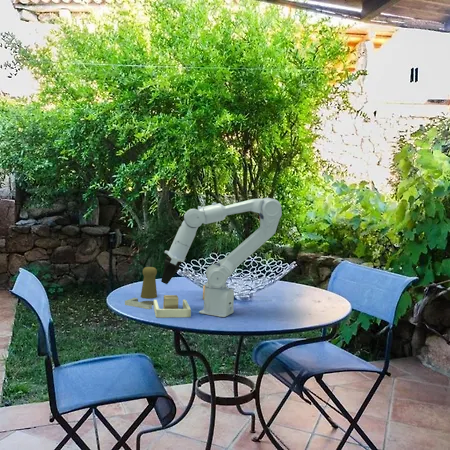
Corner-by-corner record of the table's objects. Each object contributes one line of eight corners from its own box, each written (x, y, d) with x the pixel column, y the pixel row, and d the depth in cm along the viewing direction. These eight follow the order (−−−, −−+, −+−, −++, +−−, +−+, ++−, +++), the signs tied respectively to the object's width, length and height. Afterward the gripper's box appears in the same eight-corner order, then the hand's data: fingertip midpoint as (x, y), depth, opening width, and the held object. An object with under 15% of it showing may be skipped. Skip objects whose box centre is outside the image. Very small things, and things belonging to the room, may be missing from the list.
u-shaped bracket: (190, 317, 159) (190, 309, 159) (156, 317, 157) (156, 309, 157) (185, 306, 172) (185, 299, 172) (153, 307, 170) (153, 299, 170)
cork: (158, 295, 187) (159, 266, 186) (155, 299, 181) (156, 269, 180) (143, 294, 188) (143, 265, 187) (138, 298, 182) (139, 268, 181)
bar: (158, 306, 172) (158, 301, 172) (149, 309, 167) (149, 305, 167) (134, 301, 176) (134, 297, 176) (124, 305, 171) (124, 300, 171)
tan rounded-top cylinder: (218, 298, 186) (219, 285, 186) (212, 301, 182) (213, 288, 181) (206, 296, 188) (207, 283, 188) (200, 299, 184) (200, 286, 183)
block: (177, 311, 166) (178, 298, 165) (164, 311, 165) (164, 298, 165) (176, 308, 170) (176, 295, 170) (163, 308, 169) (163, 295, 169)
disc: (160, 302, 176) (160, 302, 176) (150, 306, 170) (150, 305, 170) (145, 300, 178) (145, 299, 178) (136, 303, 173) (136, 303, 173)
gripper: (171, 236, 170) (155, 272, 170) (169, 240, 155) (151, 279, 156) (190, 244, 170) (174, 280, 171) (190, 249, 156) (172, 288, 156)
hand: (164, 280), depth 163 cm, fingers open, 7 cm apart
